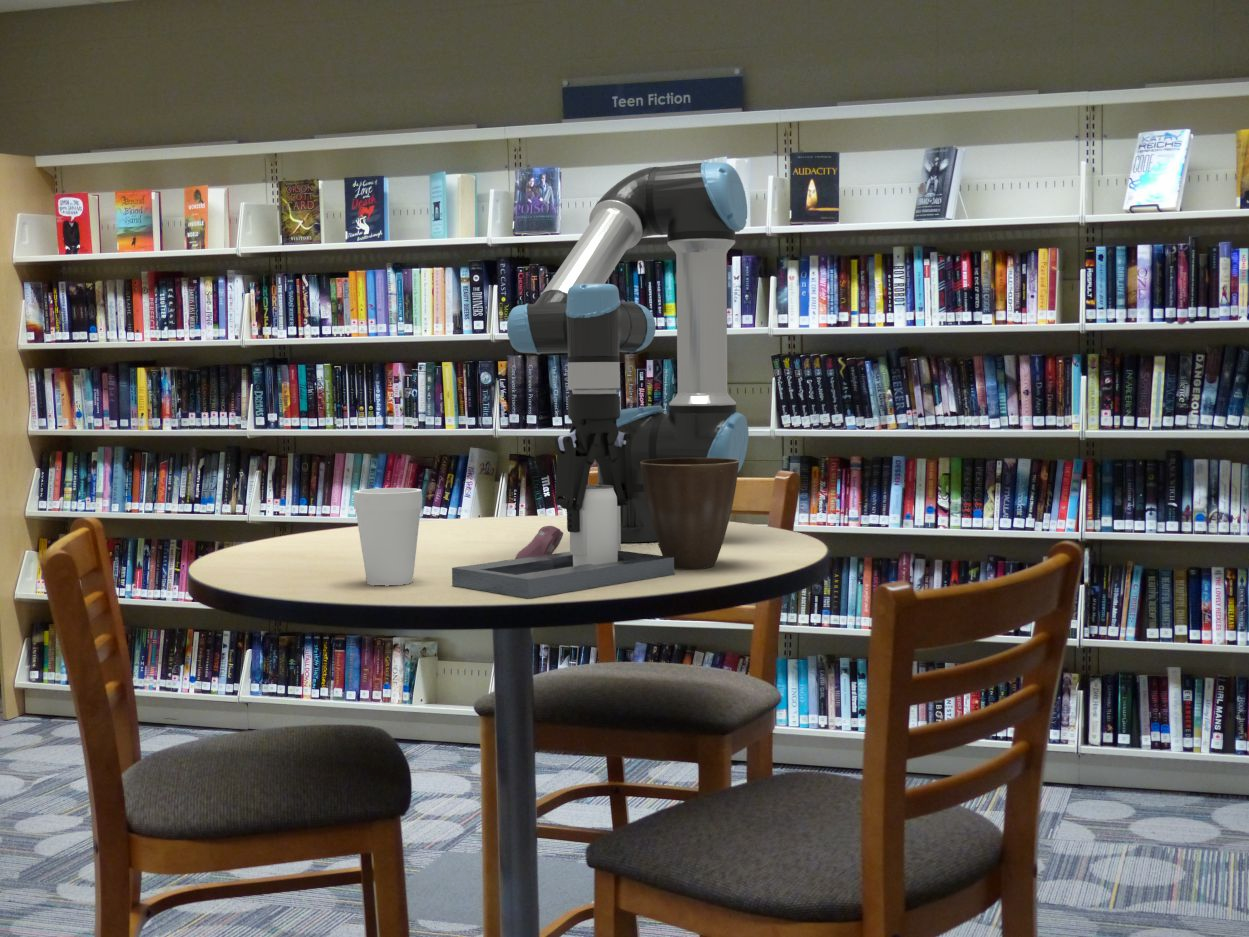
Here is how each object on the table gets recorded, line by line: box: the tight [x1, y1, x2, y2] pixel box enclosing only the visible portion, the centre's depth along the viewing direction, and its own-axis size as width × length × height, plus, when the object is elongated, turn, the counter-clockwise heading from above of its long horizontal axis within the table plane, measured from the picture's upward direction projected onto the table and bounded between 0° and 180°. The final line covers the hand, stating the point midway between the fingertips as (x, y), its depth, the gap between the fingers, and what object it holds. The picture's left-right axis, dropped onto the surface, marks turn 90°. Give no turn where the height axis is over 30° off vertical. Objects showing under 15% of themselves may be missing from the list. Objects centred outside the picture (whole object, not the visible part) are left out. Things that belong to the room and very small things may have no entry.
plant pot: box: [640, 458, 739, 570], centre depth 199 cm, size 15×15×16 cm
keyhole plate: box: [451, 550, 675, 599], centre depth 187 cm, size 28×16×2 cm, turn 135°
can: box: [573, 484, 618, 566], centre depth 191 cm, size 6×6×12 cm
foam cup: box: [353, 487, 423, 587], centre depth 186 cm, size 10×9×13 cm
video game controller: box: [514, 525, 564, 559], centre depth 205 cm, size 10×5×7 cm, turn 169°
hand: (595, 551), depth 191 cm, fingers closed on can, 6 cm apart
